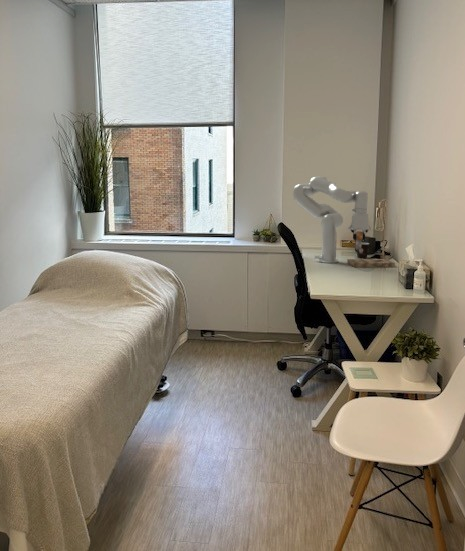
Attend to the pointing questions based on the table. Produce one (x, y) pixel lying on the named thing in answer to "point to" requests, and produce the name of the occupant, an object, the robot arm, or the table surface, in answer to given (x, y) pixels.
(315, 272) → the table surface
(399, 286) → the table surface
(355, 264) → the board
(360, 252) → the coffee mug
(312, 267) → the table surface
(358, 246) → the awl
